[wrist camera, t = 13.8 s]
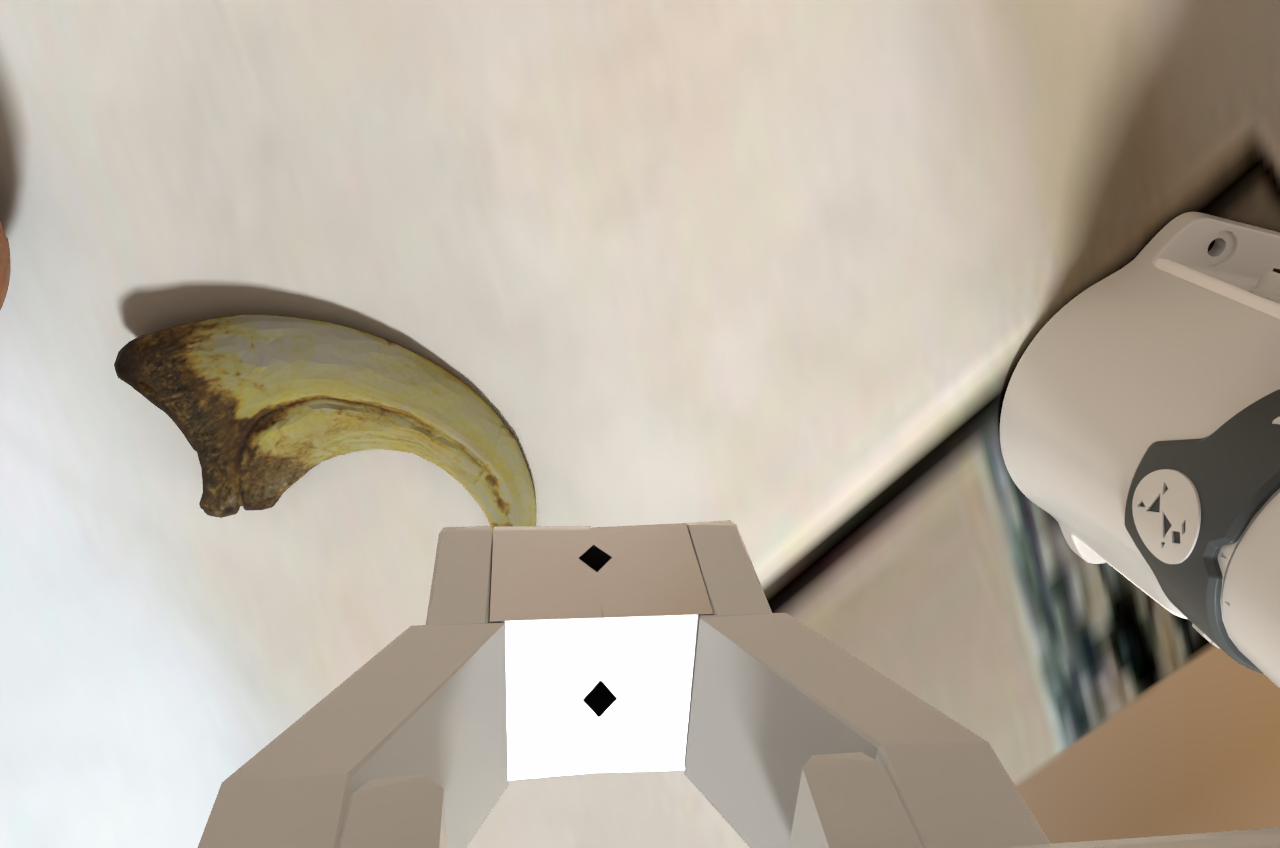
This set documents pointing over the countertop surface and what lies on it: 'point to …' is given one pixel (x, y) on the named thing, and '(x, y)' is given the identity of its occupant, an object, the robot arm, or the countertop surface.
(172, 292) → the countertop surface
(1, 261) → the onion
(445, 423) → the claw
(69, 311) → the countertop surface
